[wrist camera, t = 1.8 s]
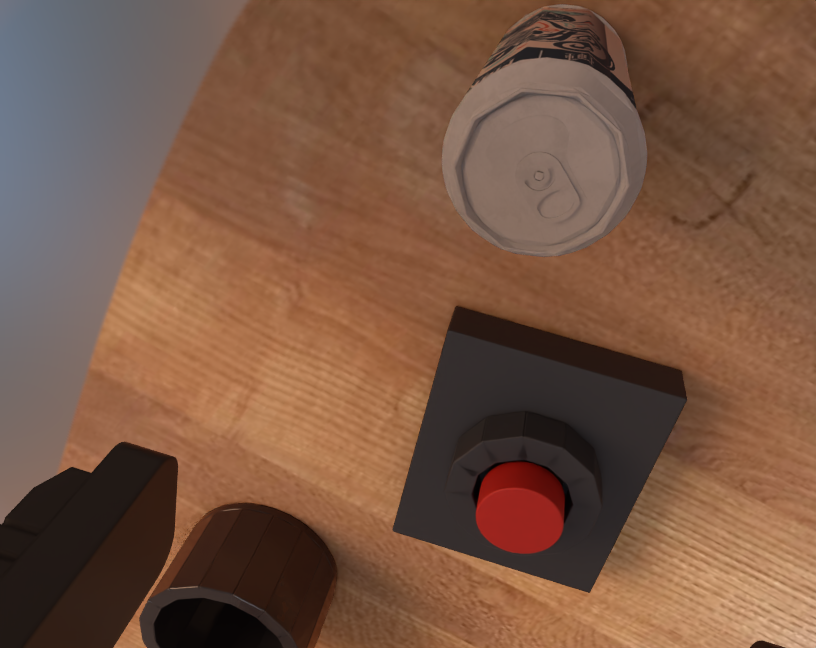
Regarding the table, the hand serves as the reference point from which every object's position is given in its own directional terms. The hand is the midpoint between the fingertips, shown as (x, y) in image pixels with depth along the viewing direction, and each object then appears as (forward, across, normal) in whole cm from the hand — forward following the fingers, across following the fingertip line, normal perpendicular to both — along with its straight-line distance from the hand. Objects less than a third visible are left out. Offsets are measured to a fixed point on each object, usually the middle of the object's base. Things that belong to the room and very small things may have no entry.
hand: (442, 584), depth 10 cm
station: (+22, -4, +14) cm, 26 cm away
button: (+18, -4, +14) cm, 23 cm away
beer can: (+22, 0, -3) cm, 22 cm away
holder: (+22, +8, +27) cm, 36 cm away
